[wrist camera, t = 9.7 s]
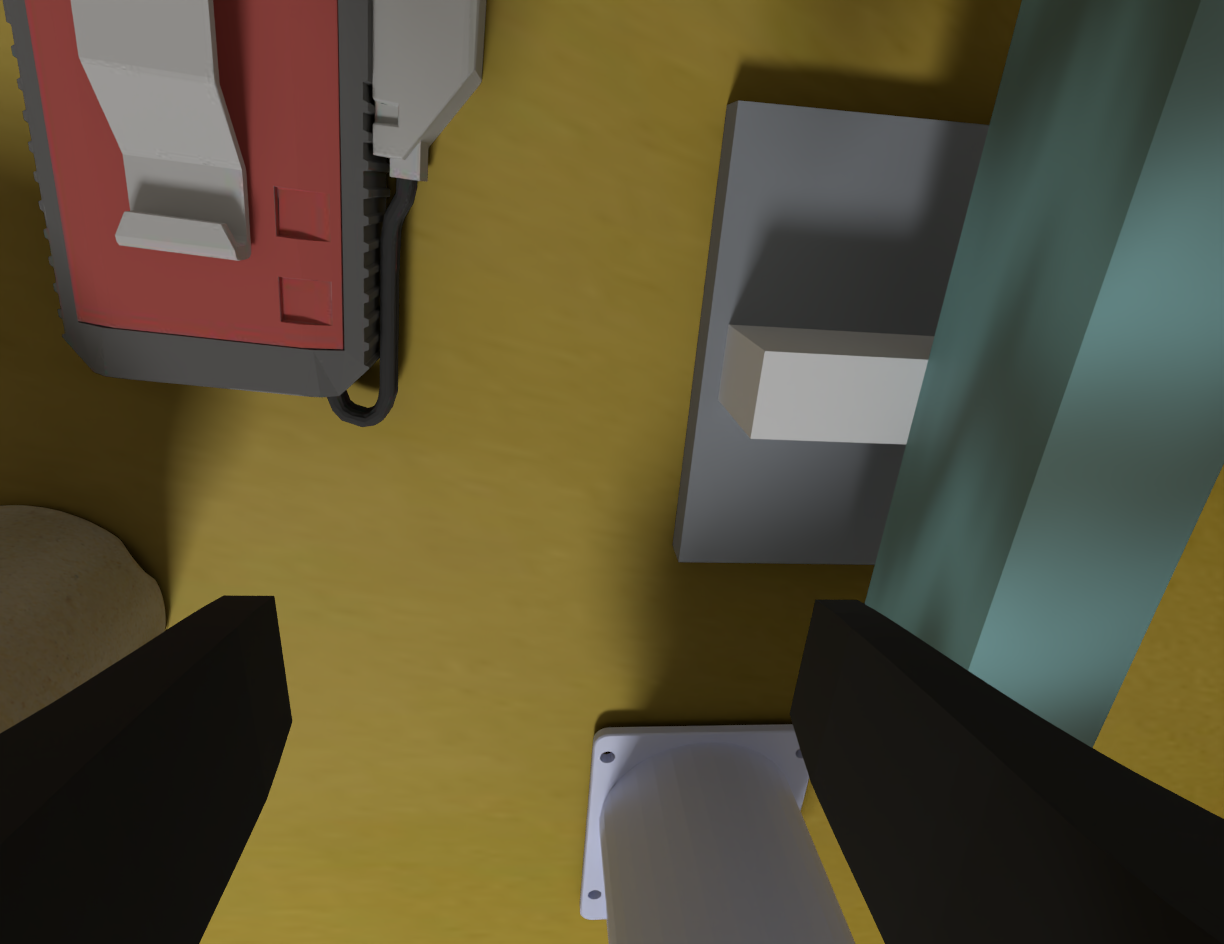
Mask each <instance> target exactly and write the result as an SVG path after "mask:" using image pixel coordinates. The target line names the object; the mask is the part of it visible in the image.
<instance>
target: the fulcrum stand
mask: <svg viewBox="0 0 1224 944" xmlns="http://www.w3.org/2000/svg"><path fill="white" fill-rule="evenodd" d="M988 129H989V125H982V124H972V123H962V122H952V121H942V120H932V119H922V118H912V117H901V116H891V115H881V114H871V113H861V112H851V111H841V110H830V109H820V108H810V107H800V106H790V105H780V104H770V103H760V102H749V101H739V100H738V101H736V102H734V103H731V104H729V105H727V110H726V118H725V126H724V134H723V142H722V150H721V158H720V166H719V174H718V182H717V190H716V198H715V207H714V215H713V223H712V231H711V239H710V247H709V255H708V263H707V271H706V279H705V287H704V295H703V303H702V311H701V320H700V328H699V336H698V344H697V352H696V360H695V368H694V376H693V384H692V392H691V400H690V408H689V416H688V424H687V433H686V441H685V449H684V457H683V465H682V473H681V481H680V489H679V497H678V505H677V513H676V521H675V529H674V537H673V548H674V551H675V553H676V556H677V559H678V562H710V563H785V564H859V565H875V562H876V559H877V555H878V551H879V547H880V543H881V539H882V536H883V532H884V528H885V524H886V520H887V516H888V513H889V509H890V505H891V501H892V497H893V493H894V490H895V486H896V482H897V478H898V474H899V470H900V466H901V463H902V459H903V455H904V451H905V447H906V443H907V440H908V436H909V432H910V428H911V424H912V420H913V417H914V413H915V409H916V405H917V401H918V397H919V394H920V390H921V386H922V382H923V378H924V374H925V371H926V367H927V363H928V359H929V355H930V351H931V348H932V344H933V340H934V336H935V332H936V328H937V325H938V321H939V317H940V313H941V309H942V305H943V302H944V298H945V294H946V290H947V286H948V282H949V278H950V275H951V271H952V267H953V263H954V259H955V255H956V252H957V248H958V244H959V240H960V236H961V232H962V229H963V225H964V221H965V217H966V213H967V209H968V206H969V202H970V198H971V194H972V190H973V186H974V183H975V179H976V175H977V171H978V167H979V163H980V160H981V156H982V152H983V148H984V144H985V140H986V137H987V133H988Z"/></svg>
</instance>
